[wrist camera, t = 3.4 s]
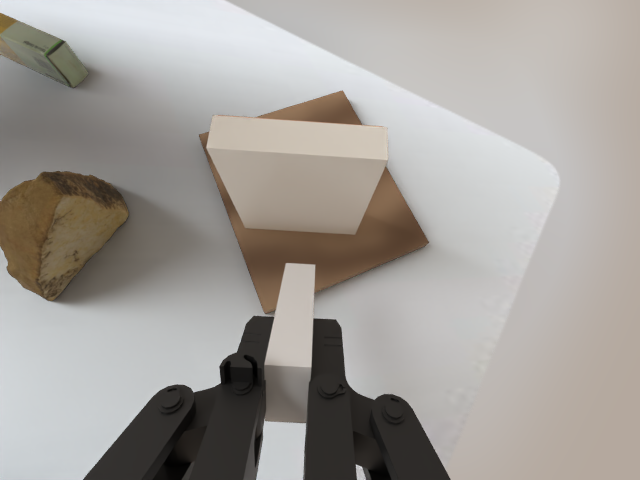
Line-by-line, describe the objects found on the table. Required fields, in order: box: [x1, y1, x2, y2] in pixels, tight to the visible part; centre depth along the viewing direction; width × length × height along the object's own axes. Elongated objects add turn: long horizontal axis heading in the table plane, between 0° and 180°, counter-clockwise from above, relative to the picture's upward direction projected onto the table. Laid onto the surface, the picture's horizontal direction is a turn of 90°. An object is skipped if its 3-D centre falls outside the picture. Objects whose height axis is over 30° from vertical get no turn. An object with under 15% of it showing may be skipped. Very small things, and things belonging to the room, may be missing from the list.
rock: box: [0, 171, 129, 301], centre depth 25 cm, size 11×9×10 cm
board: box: [199, 91, 429, 314], centre depth 31 cm, size 19×16×1 cm
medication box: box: [0, 13, 88, 88], centre depth 33 cm, size 12×3×4 cm, turn 64°
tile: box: [206, 115, 388, 235], centre depth 23 cm, size 2×10×12 cm, turn 87°
